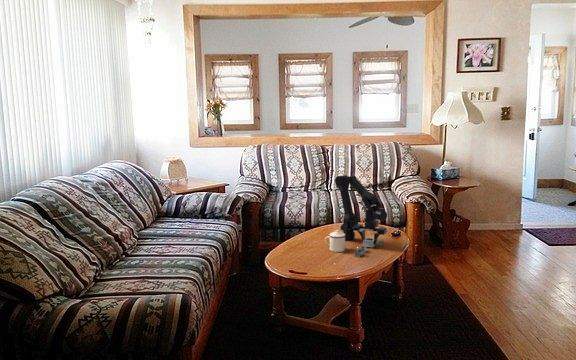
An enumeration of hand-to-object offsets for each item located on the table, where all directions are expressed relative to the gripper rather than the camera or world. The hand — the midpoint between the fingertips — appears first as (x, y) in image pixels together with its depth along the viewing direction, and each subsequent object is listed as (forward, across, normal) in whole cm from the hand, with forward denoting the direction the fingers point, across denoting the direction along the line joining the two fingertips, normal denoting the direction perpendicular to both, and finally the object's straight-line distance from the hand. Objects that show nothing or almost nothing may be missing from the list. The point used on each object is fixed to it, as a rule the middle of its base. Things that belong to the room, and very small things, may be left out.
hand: (369, 243), depth 281 cm
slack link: (+2, 0, +10) cm, 10 cm away
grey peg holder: (+2, -2, -8) cm, 8 cm away
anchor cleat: (+2, 0, +17) cm, 17 cm away
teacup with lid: (+2, +15, +14) cm, 21 cm away
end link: (+1, 0, 0) cm, 1 cm away
